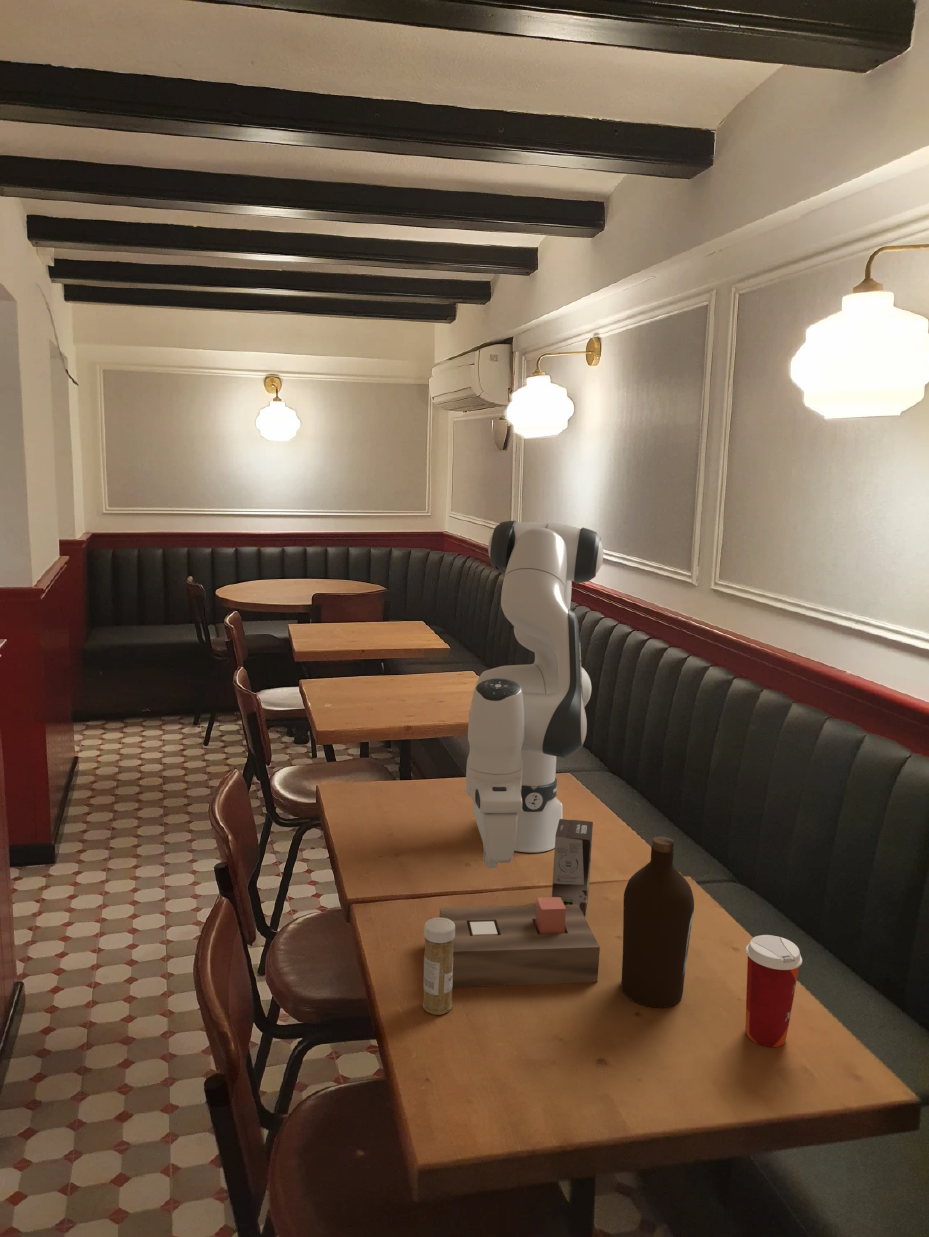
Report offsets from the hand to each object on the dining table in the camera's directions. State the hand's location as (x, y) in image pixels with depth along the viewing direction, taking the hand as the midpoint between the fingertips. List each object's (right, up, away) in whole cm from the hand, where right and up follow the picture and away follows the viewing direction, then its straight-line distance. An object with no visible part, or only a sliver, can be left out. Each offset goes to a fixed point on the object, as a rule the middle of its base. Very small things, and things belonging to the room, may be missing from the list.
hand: (490, 864), depth 146 cm
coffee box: (+15, -14, +21) cm, 29 cm away
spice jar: (-8, -19, -10) cm, 23 cm away
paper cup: (+40, -21, -14) cm, 47 cm away
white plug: (-1, -16, +3) cm, 17 cm away
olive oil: (+25, -19, -4) cm, 32 cm away
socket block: (+4, -17, +3) cm, 18 cm away
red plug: (+10, -13, +3) cm, 16 cm away
